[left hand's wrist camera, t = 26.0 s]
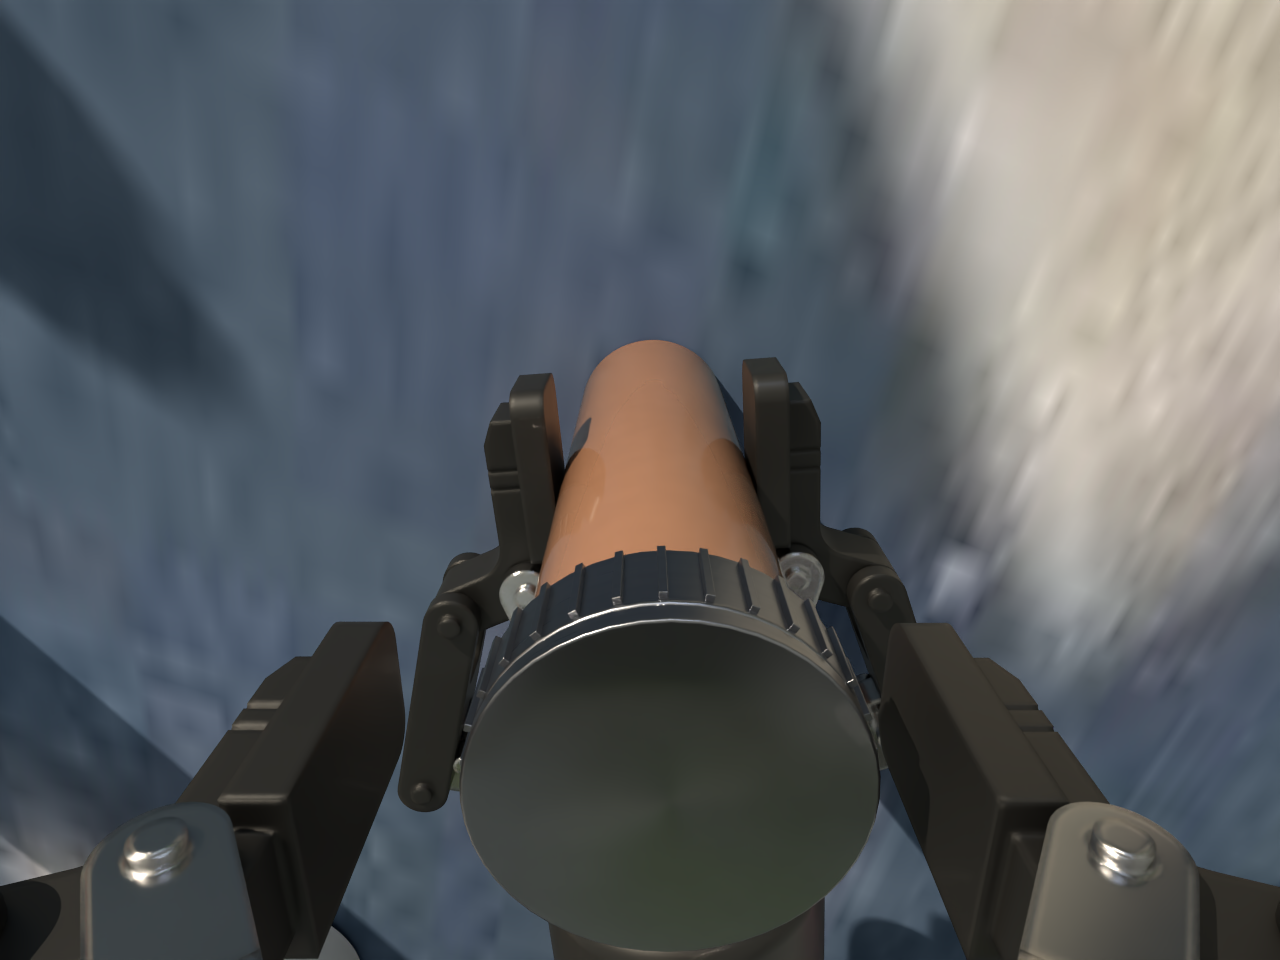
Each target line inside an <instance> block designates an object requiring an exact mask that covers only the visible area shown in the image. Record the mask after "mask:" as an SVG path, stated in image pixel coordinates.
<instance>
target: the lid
mask: <svg viewBox="0 0 1280 960" xmlns="http://www.w3.org/2000/svg"><path fill="white" fill-rule="evenodd" d="M870 720H872V716H871V713H870V710H869V708H868V706H867V703H866V701H865V698H864V696H863V693H862V691H861V689H860V686H859V684H858V681H857V679H856V676H855V674H854V672H853V669H852V667H851V664H850V662H849V659H848V658H847V657H846V656H845V653H844V651H843V648H842V646H841V644H840V641H839V639H838V636H837V634H836V631H835V630H834V628H833V627H832V626H831V627H829V628H827V629H826V627H825V626H824V625H823V623H822V622H821V620H820V619H819V616H818V613H817V611H816V608H815V606H814V603H813V602H812V601H811V600H810V599H809V598H808V599H806V600H805V601H803V600H802V599H801V598H799V597H798V596H797V595H796V594H794V593H793V592H792V591H791V590H789V589H788V588H787V586H786V583H785V580H784V578H782V577H780V576H779V575H777V576H776V577H775V578H774V579H773V578H771V577H770V576H768V575H766V574H765V573H763V572H760V571H758V570H756V569H753V568H751V567H750V566H749V562H748V560H746V559H743V558H740V560H739V562H736V561H733V560H730V559H726V558H723V557H720V556H716V555H710V554H709V553H708V549H704V548H699V552H693V551H676V550H666V546H657V551H644V552H636V553H631V554H626V555H624V552H623V550H621V551H617V552H615V556H614V557H612V558H609V559H606V560H603V561H599V562H596V563H593V564H591V565H588V566H586V567H585V566H584V564H583V563H580V564H578V565H576V566H575V571H574V572H573V573H571V574H569V575H567V576H566V577H564V578H562V579H561V580H559V581H557V582H556V583H554V584H553V585H550V584H549V583H548V582H546V583H545V584H543V585H542V586H541V588H540V592H539V595H538V596H537V597H536V598H534V599H533V600H532V601H531V602H530V603H529V604H528V605H527V606H526V607H525V608H524V609H523V610H522V609H520V608H519V607H517V608H516V609H515V610H514V611H513V614H512V618H511V621H510V625H509V628H508V629H507V630H506V632H505V633H504V635H503V636H502V638H500V637H498V636H496V637H495V638H494V640H493V643H492V646H491V649H490V652H489V655H488V659H487V662H486V665H485V668H482V671H481V674H480V677H479V680H478V683H477V687H476V690H475V693H474V696H473V699H472V703H471V706H470V709H469V712H468V715H467V719H466V722H465V725H464V729H463V731H465V732H468V734H467V738H466V741H465V744H464V748H463V751H462V754H461V757H460V766H461V771H460V779H459V781H460V803H461V808H462V813H463V818H464V823H465V826H466V828H467V831H468V834H469V836H470V839H471V842H472V844H473V846H474V848H475V850H476V852H477V853H478V855H479V857H480V859H481V861H482V862H483V864H484V865H485V867H486V868H487V869H488V871H489V872H490V873H491V875H492V876H493V877H494V878H495V880H496V881H497V882H498V883H499V884H500V885H501V886H502V887H503V888H504V889H505V890H506V891H507V892H508V893H509V894H510V895H511V896H512V897H513V898H514V899H516V900H517V901H518V902H519V903H521V904H522V905H523V906H524V907H526V908H527V909H528V910H530V911H531V912H533V913H534V914H536V915H538V916H539V917H541V918H542V919H544V920H546V921H547V922H549V923H551V924H553V925H555V926H557V927H559V928H561V929H563V930H566V931H568V932H570V933H572V934H575V935H578V936H581V937H583V938H586V939H589V940H592V941H595V942H599V943H603V944H607V945H612V946H616V947H621V948H628V949H635V950H642V951H663V952H674V951H693V950H700V949H707V948H714V947H720V946H724V945H728V944H732V943H736V942H740V941H744V940H747V939H749V938H752V937H755V936H758V935H761V934H763V933H766V932H768V931H770V930H772V929H775V928H777V927H779V926H781V925H783V924H785V923H787V922H789V921H791V920H792V919H794V918H795V917H797V916H799V915H800V914H802V913H804V912H805V911H807V910H808V909H810V908H811V907H812V906H813V905H815V904H816V903H817V902H819V901H820V900H821V899H822V898H824V897H825V896H826V895H827V894H828V893H829V892H830V891H831V890H832V889H833V888H834V887H835V886H836V885H837V884H838V883H839V882H840V881H841V880H842V879H843V878H844V877H845V875H846V874H847V873H848V871H849V870H850V869H851V867H852V866H853V865H854V863H855V862H856V861H857V859H858V857H859V855H860V854H861V852H862V850H863V848H864V847H865V845H866V843H867V841H868V838H869V836H870V833H871V830H872V828H873V825H874V822H875V818H876V813H877V809H878V804H879V799H880V778H881V776H880V768H879V760H878V748H877V746H876V743H875V741H874V738H873V736H872V733H871V731H870V728H869V726H868V723H867V721H870Z"/></svg>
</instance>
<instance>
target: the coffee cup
mask: <svg viewBox="0 0 1280 960" xmlns="http://www.w3.org/2000/svg"><path fill="white" fill-rule="evenodd" d="M284 960H360V959H359V957H358V955H357V953H356V951H355V950H354V948H353V947H352V945H351V944H350V943H349V941H348V940H347V939H346V938H345V937H344V936H343V935H342V934H341V933H340V932H338V931H337V930H336V929H335V928H333V927H332V926H331V928H330V930H329V933H328V935H327V938H326V940H325V943H324V945H323V948H322V950H321V953H320V955H319V958H318V959H284Z"/></svg>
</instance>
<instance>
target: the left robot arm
mask: <svg viewBox="0 0 1280 960" xmlns="http://www.w3.org/2000/svg"><path fill="white" fill-rule="evenodd" d="M404 733H405V708H404V700H403V692H402V684H401V676H400V669H399V661H398V653H397V645H396V638H395V632H394V629H393V626H392V625H391V623H389V622H336V623H335V624H333V626H332V627H331V628H330V630H329V631H328V633H327V634H326V636H325V637H324V639H323V640H322V642H321V643H320V645H319V646H318V648H317V650H316V651H315V653H314V654H313V656H312V657H295V658H293V659H292V660H290V661H289V662H288V663H286V664H285V665H283V666H282V667H281V668H279V669H278V670H277V671H275V672H274V673H272V674H271V675H270V676H268V677H267V678H265V680H264V681H263V683H262V684H261V685H260V687H259V688H258V690H257V691H256V692H255V694H254V695H253V696H252V698H251V699H250V701H249V702H248V703H247V709H243V710H242V712H241V713H240V714H239V716H238V717H237V719H236V720H235V721H234V723H233V724H232V730H228V731H227V732H226V734H225V735H224V737H223V738H222V739H221V741H220V742H219V744H218V745H217V746H216V748H215V749H214V750H213V752H212V753H211V755H210V756H209V757H208V759H207V760H206V762H205V763H204V764H203V766H202V767H201V768H200V770H199V771H198V773H197V774H196V775H195V777H194V778H193V780H192V781H191V782H190V784H189V785H188V787H187V788H186V789H185V791H184V792H183V793H182V795H181V796H180V798H179V799H178V800H177V802H176V803H175V804H170V805H166V806H162V807H159V808H156V809H153V810H150V811H148V812H145V813H143V814H141V815H139V816H137V817H135V818H133V819H131V820H129V821H127V822H126V823H124V824H123V825H121V826H119V827H118V828H117V829H115V830H114V831H113V832H111V833H110V834H109V835H107V836H106V837H105V838H104V839H103V840H102V841H101V842H100V843H99V844H98V845H97V846H96V847H95V849H94V850H93V851H92V852H91V854H90V855H89V857H88V858H87V860H86V862H85V864H84V866H81V867H78V868H74V869H70V870H66V871H62V872H58V873H54V874H49V875H45V876H41V877H37V878H33V879H29V880H24V881H20V882H16V883H12V884H8V885H3V886H0V960H284V959H318V958H319V955H320V953H321V950H322V948H323V945H324V943H325V940H326V938H327V935H328V933H329V930H330V928H331V926H332V923H333V921H334V918H335V916H336V913H337V911H338V908H339V906H340V903H341V901H342V898H343V896H344V893H345V891H346V888H347V886H348V883H349V881H350V878H351V876H352V873H353V871H354V868H355V866H356V863H357V861H358V858H359V856H360V854H361V851H362V849H363V846H364V844H365V841H366V839H367V836H368V834H369V831H370V829H371V826H372V824H373V821H374V819H375V816H376V814H377V811H378V809H379V806H380V804H381V801H382V799H383V796H384V794H385V791H386V789H387V786H388V784H389V782H390V779H391V777H392V774H393V772H394V769H395V767H396V764H397V762H398V759H399V756H400V754H401V750H402V746H403V740H404ZM879 734H880V742H881V747H882V751H883V755H884V758H885V760H886V763H887V765H888V768H889V770H890V773H891V775H892V778H893V780H894V782H895V785H896V787H897V790H898V792H899V795H900V797H901V800H902V802H903V804H904V807H905V809H906V812H907V814H908V817H909V819H910V822H911V824H912V826H913V829H914V831H915V834H916V836H917V839H918V841H919V844H920V846H921V848H922V851H923V853H924V856H925V858H926V861H927V863H928V866H929V868H930V871H931V873H932V875H933V878H934V880H935V883H936V885H937V888H938V890H939V893H940V895H941V897H942V900H943V902H944V905H945V907H946V910H947V912H948V915H949V917H950V919H951V922H952V924H953V927H954V929H955V932H956V934H957V937H958V939H959V941H960V944H961V946H962V949H963V951H964V954H965V956H966V959H967V960H1280V887H1277V886H1273V885H1269V884H1264V883H1260V882H1256V881H1252V880H1248V879H1243V878H1239V877H1235V876H1231V875H1227V874H1222V873H1218V872H1214V871H1211V870H1207V869H1204V868H1200V867H1197V866H1196V864H1195V862H1194V860H1193V858H1192V857H1191V855H1190V854H1189V852H1188V851H1187V850H1186V849H1185V847H1184V846H1183V845H1182V844H1181V843H1180V842H1179V841H1178V840H1177V839H1176V838H1175V837H1174V836H1173V835H1171V834H1170V833H1169V832H1167V831H1166V830H1165V829H1163V828H1162V827H1161V826H1159V825H1157V824H1156V823H1154V822H1153V821H1151V820H1149V819H1147V818H1145V817H1143V816H1141V815H1139V814H1137V813H1135V812H1132V811H1130V810H1127V809H1124V808H1121V807H1118V806H1114V805H1110V803H1109V802H1108V801H1107V799H1106V798H1105V797H1104V795H1103V794H1102V792H1101V791H1100V790H1099V788H1098V787H1097V786H1096V784H1095V783H1094V781H1093V780H1092V779H1091V777H1090V776H1089V775H1088V773H1087V772H1086V770H1085V769H1084V768H1083V766H1082V765H1081V764H1080V762H1079V761H1078V759H1077V758H1076V757H1075V755H1074V754H1073V753H1072V751H1071V750H1070V749H1069V747H1068V746H1067V744H1066V743H1065V742H1064V740H1063V739H1062V738H1061V736H1060V735H1059V733H1058V732H1054V730H1053V725H1052V724H1051V722H1050V721H1049V720H1048V718H1047V717H1046V716H1045V714H1044V713H1043V711H1042V710H1038V705H1037V703H1036V702H1035V701H1034V699H1033V698H1032V696H1031V695H1030V694H1029V692H1028V691H1027V690H1026V688H1025V687H1024V685H1023V684H1022V683H1021V681H1020V680H1019V679H1018V678H1016V677H1015V676H1013V675H1012V674H1011V673H1009V672H1008V671H1006V670H1005V669H1004V668H1002V667H1001V666H999V665H998V664H997V663H995V662H994V661H992V660H991V659H990V658H973V657H972V656H971V654H970V653H969V651H968V650H967V648H966V647H965V645H964V644H963V642H962V641H961V639H960V638H959V636H958V635H957V633H956V632H955V630H954V629H953V627H952V626H951V625H950V624H948V623H895V624H894V625H893V626H892V628H891V631H890V634H889V640H888V647H887V655H886V663H885V671H884V678H883V686H882V694H881V701H880V709H879Z"/></svg>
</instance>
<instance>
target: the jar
mask: <svg viewBox="0 0 1280 960" xmlns="http://www.w3.org/2000/svg"><path fill="white" fill-rule="evenodd" d="M657 546H666V550H676V551H693V552H699V548H704V549H708V553H709V554H710V555H716V556H720V557H723V558H726V559H730V560H733V561H736V562H739V560H740V558H743V559H746V560H748V562H749V566H750V567H751V568H753V569H756V570H758V571H760V572H763V573H765V574H766V575H768V576H770V577H771V578H773V579H774V578H775V577H776V576H777V575H779V576H780V577H782V578H784V580H785V583H786V586H787V588H788V589H789V587H788V584H787V581H786V578H785V575H784V572H783V569H782V566H781V564H780V561H779V558H778V555H777V552H776V549H775V546H774V543H773V540H772V537H771V534H770V531H769V529H768V526H767V523H766V520H765V517H764V514H763V511H762V508H761V505H760V502H759V499H758V496H757V493H756V491H755V488H754V485H753V482H752V479H751V476H750V473H749V470H748V467H747V464H746V461H745V458H744V456H743V453H742V450H741V447H740V444H739V441H738V438H737V435H736V432H735V429H734V426H733V423H732V420H731V418H730V415H729V412H728V409H727V406H726V403H725V400H724V397H723V394H722V391H721V388H720V386H719V383H718V381H717V379H716V377H715V375H714V373H713V372H712V370H711V369H710V368H709V366H708V365H707V364H706V363H705V362H704V361H703V360H702V359H701V358H700V357H699V356H698V355H696V354H695V353H694V352H692V351H690V350H689V349H687V348H685V347H683V346H680V345H678V344H675V343H671V342H668V341H660V340H646V341H638V342H635V343H631V344H628V345H626V346H623V347H621V348H619V349H617V350H616V351H614V352H612V353H611V354H610V355H608V356H607V357H606V358H605V359H604V360H603V361H602V362H601V363H600V364H599V365H598V366H597V367H596V369H595V370H594V371H593V373H592V374H591V376H590V378H589V380H588V382H587V385H586V387H585V391H584V395H583V399H582V403H581V407H580V411H579V415H578V419H577V423H576V427H575V431H574V435H573V439H572V443H571V448H570V452H569V456H568V460H567V464H566V468H565V472H564V476H563V480H562V484H561V488H560V492H559V496H558V500H557V504H556V508H555V513H554V517H553V521H552V525H551V529H550V533H549V537H548V541H547V545H546V549H545V553H544V557H543V561H542V565H541V569H540V573H539V578H538V582H537V586H536V590H535V594H534V598H536V597H537V596H538V595H539V592H540V588H541V586H542V585H543V584H545V583H546V582H548V583H549V584H550V585H553V584H554V583H556V582H557V581H559V580H561V579H562V578H564V577H566V576H567V575H569V574H571V573H573V572H574V571H575V566H576V565H578V564H580V563H583V564H584V566H585V567H586V566H588V565H591V564H593V563H596V562H599V561H603V560H606V559H609V558H612V557H614V556H615V552H617V551H621V550H623V552H624V555H626V554H631V553H636V552H644V551H657ZM534 598H533V599H534Z"/></svg>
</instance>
